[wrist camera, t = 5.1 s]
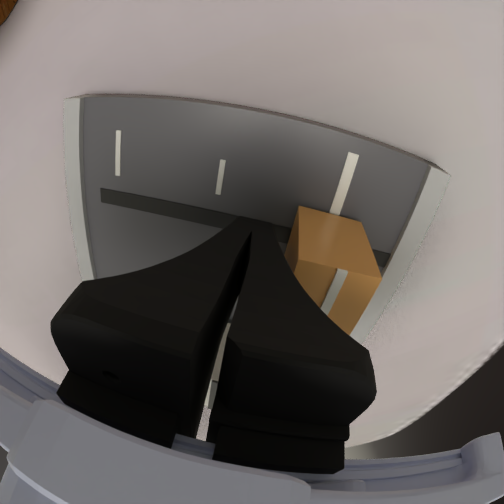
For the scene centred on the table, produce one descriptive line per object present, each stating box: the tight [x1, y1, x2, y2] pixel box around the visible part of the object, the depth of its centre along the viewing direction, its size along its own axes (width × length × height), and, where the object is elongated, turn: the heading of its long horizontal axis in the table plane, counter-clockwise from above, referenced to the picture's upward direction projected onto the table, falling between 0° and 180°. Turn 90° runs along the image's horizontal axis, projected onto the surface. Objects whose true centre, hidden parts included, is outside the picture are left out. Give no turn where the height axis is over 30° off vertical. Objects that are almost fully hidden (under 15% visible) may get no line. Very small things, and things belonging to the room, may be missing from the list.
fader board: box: [63, 94, 451, 344], centre depth 14 cm, size 16×16×2 cm
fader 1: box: [204, 323, 231, 409], centre depth 14 cm, size 3×2×4 cm
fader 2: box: [284, 206, 382, 336], centre depth 10 cm, size 3×2×4 cm
